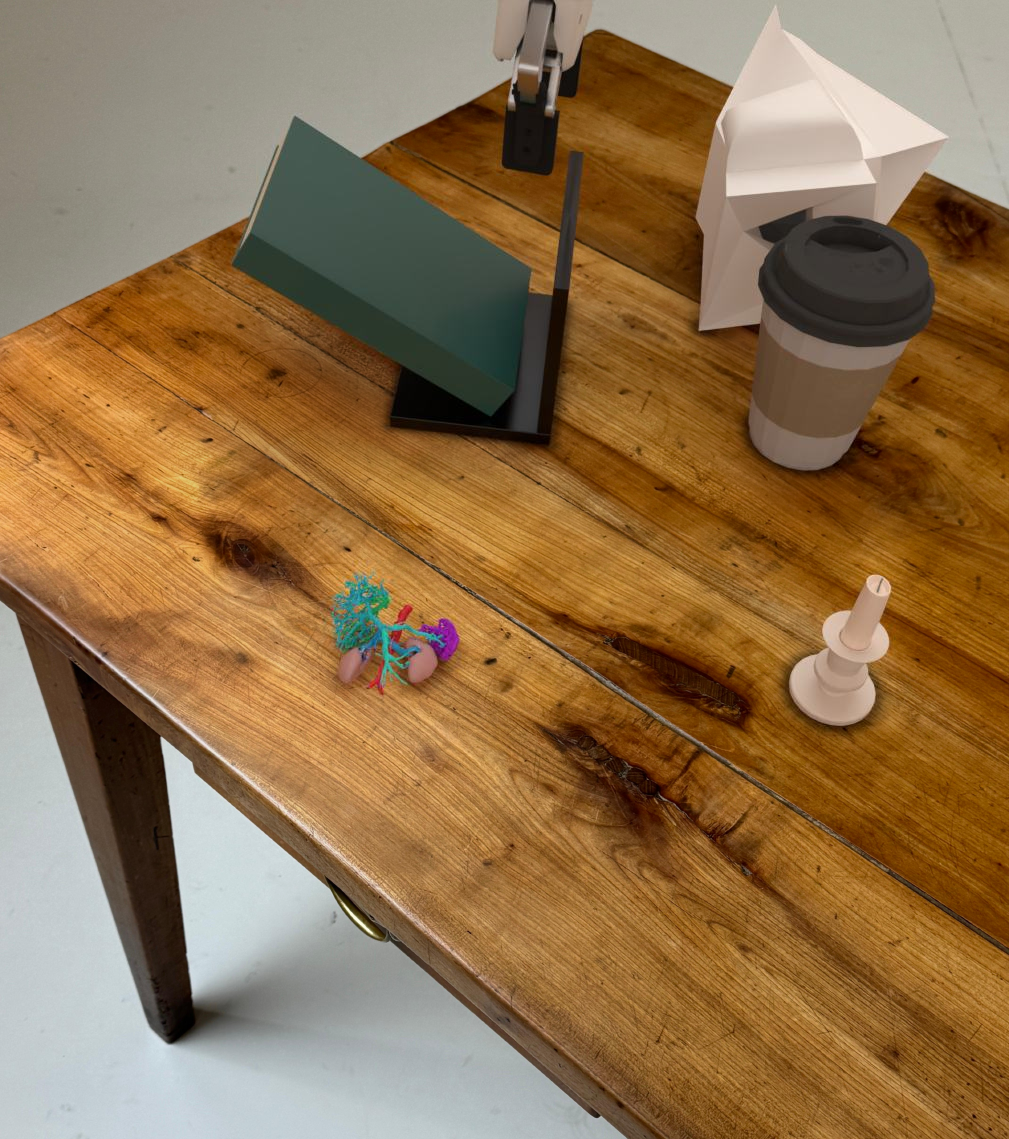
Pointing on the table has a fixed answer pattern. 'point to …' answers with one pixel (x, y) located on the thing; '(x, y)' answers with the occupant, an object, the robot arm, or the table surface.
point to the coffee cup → (831, 334)
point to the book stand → (537, 367)
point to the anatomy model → (417, 651)
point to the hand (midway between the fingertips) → (540, 130)
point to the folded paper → (796, 165)
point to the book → (387, 268)
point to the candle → (844, 661)
